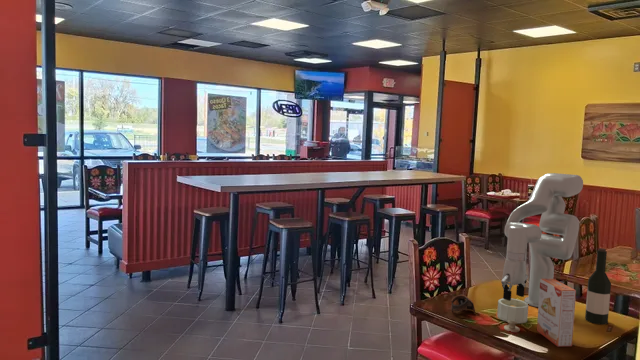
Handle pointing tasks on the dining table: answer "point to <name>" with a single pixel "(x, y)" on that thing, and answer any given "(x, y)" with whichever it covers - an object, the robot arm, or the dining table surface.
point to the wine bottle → (598, 292)
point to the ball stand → (512, 326)
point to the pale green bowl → (512, 310)
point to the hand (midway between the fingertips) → (513, 297)
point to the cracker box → (556, 312)
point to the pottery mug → (462, 303)
